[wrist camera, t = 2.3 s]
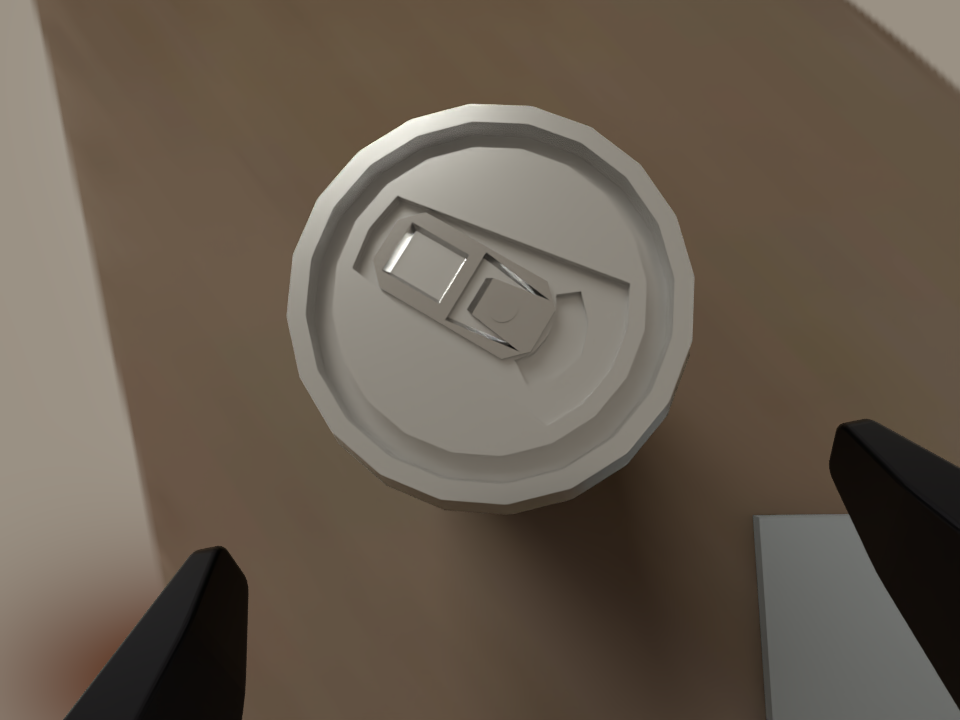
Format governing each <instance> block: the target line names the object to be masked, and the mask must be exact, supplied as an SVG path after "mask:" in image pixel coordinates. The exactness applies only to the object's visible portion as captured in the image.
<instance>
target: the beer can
mask: <svg viewBox="0 0 960 720" xmlns="http://www.w3.org/2000/svg"><path fill="white" fill-rule="evenodd" d="M693 302H694V274H693V270H692V267H691V264H690V260H689V257H688V254H687V250H686V247H685V244H684V240H683V237H682V234H681V230H680V227H679V223H678V220H677V217H676V215H675V213H674V212H673V211H672V209H671V208H670V206H669V205H668V203H667V202H666V201H665V199H664V198H663V196H662V195H661V193H660V192H659V191H658V189H657V188H656V186H655V185H654V183H653V182H652V181H651V179H650V178H649V176H648V175H647V173H646V172H645V171H644V169H643V168H642V166H641V165H640V164H639V163H638V162H636V161H635V160H634V159H632V158H631V157H630V156H628V155H627V154H626V153H624V152H623V151H622V150H620V149H619V148H618V147H616V146H615V145H614V144H613V143H611V142H610V141H609V140H607V139H606V138H605V137H603V136H602V135H601V134H599V133H598V132H597V131H595V130H594V129H593V128H591V127H589V126H586V125H584V124H581V123H578V122H575V121H572V120H570V119H567V118H564V117H561V116H558V115H555V114H553V113H550V112H547V111H544V110H541V109H539V108H536V107H533V106H514V105H489V104H468V105H464V106H460V107H456V108H452V109H449V110H445V111H441V112H437V113H433V114H430V115H426V116H422V117H418V118H414V119H411V120H409V121H407V122H406V123H404V124H403V125H401V126H399V127H398V128H396V129H394V130H393V131H391V132H390V133H388V134H386V135H385V136H383V137H382V138H380V139H378V140H377V141H375V142H373V143H372V144H370V145H369V146H367V147H365V148H364V149H362V150H361V151H359V152H358V153H357V154H356V155H355V156H354V157H353V158H352V160H351V161H350V162H349V163H348V164H347V165H346V167H345V168H344V169H343V170H342V171H341V172H340V173H339V175H338V176H337V177H336V178H335V179H334V180H333V181H332V183H331V184H330V185H329V186H328V187H327V188H326V189H325V191H324V192H323V193H322V194H321V195H320V196H319V197H318V199H317V201H316V203H315V206H314V208H313V210H312V213H311V215H310V217H309V219H308V222H307V224H306V226H305V228H304V231H303V233H302V235H301V238H300V240H299V242H298V244H297V247H296V249H295V251H294V254H293V259H292V269H291V278H290V288H289V298H288V307H287V321H288V325H289V330H290V335H291V339H292V344H293V349H294V353H295V358H296V363H297V367H298V372H299V377H300V379H301V380H302V382H303V384H304V386H305V387H306V389H307V391H308V392H309V394H310V396H311V398H312V399H313V401H314V403H315V404H316V406H317V408H318V409H319V411H320V413H321V415H322V416H323V418H324V420H325V421H326V423H327V425H328V426H329V428H330V430H331V432H332V433H333V434H334V436H335V438H336V440H337V441H338V443H339V444H340V445H341V446H342V447H343V448H344V449H345V450H346V451H348V452H349V453H350V454H351V455H352V456H353V457H354V458H356V459H357V460H358V461H359V462H360V463H361V464H362V465H364V466H365V467H366V468H367V469H368V470H369V471H370V472H372V473H373V474H374V475H375V476H376V477H377V478H378V479H380V480H381V481H382V482H383V483H384V484H385V485H386V486H389V487H391V488H394V489H396V490H398V491H401V492H403V493H406V494H408V495H410V496H413V497H415V498H417V499H420V500H422V501H425V502H427V503H429V504H432V505H434V506H436V507H439V508H441V509H444V510H450V511H463V512H476V513H489V514H501V515H512V514H516V513H520V512H524V511H528V510H532V509H536V508H540V507H544V506H548V505H552V504H556V503H560V502H564V501H568V500H572V499H574V498H575V497H577V496H578V495H580V494H582V493H583V492H585V491H586V490H588V489H590V488H591V487H593V486H594V485H596V484H597V483H599V482H601V481H602V480H604V479H605V478H607V477H608V476H610V475H612V474H613V473H615V472H616V471H618V470H619V469H621V468H623V467H624V466H626V465H627V464H628V463H629V462H630V460H631V459H632V458H633V457H634V455H635V454H636V453H637V452H638V450H639V449H640V448H641V447H642V446H643V444H644V443H645V442H646V441H647V439H648V438H649V437H650V436H651V435H652V433H653V432H654V431H655V430H656V428H657V427H658V426H659V425H660V423H661V422H662V421H663V420H664V419H665V417H666V416H667V415H668V412H669V409H670V407H671V404H672V401H673V399H674V396H675V393H676V391H677V388H678V385H679V383H680V380H681V377H682V375H683V372H684V369H685V367H686V364H687V361H688V359H689V356H690V345H691V343H692V331H693Z"/></svg>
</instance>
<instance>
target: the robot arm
mask: <svg viewBox="0 0 960 720" xmlns="http://www.w3.org/2000/svg"><path fill="white" fill-rule="evenodd" d="M829 469H830V473H831V477H832V479H833V481H834V483H835V486H836V488H837V490H838V492H839V494H840V496H841V499H842V501H843V503H844V505H845V507H846V509H847V511H848V514H849V516H850V518H851V520H852V522H853V524H854V526H855V529H856V531H857V533H858V535H859V537H860V539H861V542H862V544H863V546H864V548H865V550H866V552H867V554H868V557H869V559H870V561H871V563H872V565H873V567H874V569H875V571H876V573H877V574H878V576H879V578H880V580H881V581H882V583H883V585H884V587H885V588H886V590H887V592H888V593H889V595H890V597H891V598H892V600H893V602H894V603H895V605H896V607H897V608H898V610H899V612H900V613H901V615H902V616H903V618H904V620H905V621H906V623H907V625H908V626H909V628H910V630H911V631H912V633H913V635H914V636H915V638H916V640H917V641H918V643H919V644H920V646H921V648H922V649H923V651H924V653H925V654H926V656H927V658H928V659H929V661H930V663H931V664H932V666H933V668H934V669H935V671H936V672H937V674H938V676H939V677H940V679H941V681H942V682H943V684H944V686H945V687H946V689H947V691H948V692H949V694H950V696H951V697H952V699H953V700H954V702H955V704H956V705H957V707H958V709H959V710H960V468H959V467H957V466H956V465H954V464H952V463H950V462H948V461H947V460H945V459H943V458H941V457H939V456H937V455H936V454H934V453H932V452H930V451H928V450H927V449H925V448H923V447H921V446H919V445H917V444H916V443H914V442H912V441H910V440H908V439H907V438H905V437H903V436H901V435H899V434H897V433H896V432H894V431H892V430H890V429H888V428H887V427H885V426H883V425H881V424H879V423H877V422H875V421H873V420H870V419H862V420H856V421H851V422H846V423H843V424H840V425H839V427H838V428H837V430H836V433H835V438H834V442H833V447H832V451H831V456H830V460H829ZM247 625H248V584H247V580H246V577H245V575H244V574H243V572H242V571H241V569H240V568H239V566H238V565H237V563H236V562H235V561H234V559H233V558H232V556H231V555H230V553H229V552H228V551H227V549H226V548H224V547H222V546H215V547H210V548H205V549H200V550H197V551H195V552H193V553H192V554H191V555H190V556H189V557H188V559H187V560H186V561H185V563H184V564H183V565H182V566H181V568H180V569H179V570H178V572H177V573H176V574H175V575H174V577H173V578H172V579H171V581H170V582H169V583H168V585H167V586H166V587H165V588H164V590H163V591H162V592H161V594H160V595H159V596H158V598H157V599H156V600H155V601H154V603H153V604H152V605H151V607H150V608H149V609H148V610H147V612H146V613H145V614H144V616H143V617H142V618H141V620H140V621H139V622H138V624H137V625H136V626H135V627H134V629H133V630H132V631H131V633H130V634H129V635H128V636H127V638H126V639H125V640H124V642H123V643H122V644H121V645H120V647H119V648H118V649H117V651H116V652H115V653H114V654H113V656H112V657H111V659H110V660H109V661H108V662H107V664H106V665H105V666H104V667H103V669H102V670H101V671H100V673H99V674H98V675H97V677H96V678H95V679H94V681H93V682H92V683H91V684H90V686H89V687H88V688H87V689H86V691H85V692H84V693H83V695H82V696H81V697H80V699H79V700H78V701H77V703H76V704H75V705H74V706H73V708H72V709H71V710H70V712H69V713H68V714H67V715H66V717H65V718H64V719H63V720H242V715H243V707H244V698H245V686H246V660H247Z"/></svg>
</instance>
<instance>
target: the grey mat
mask: <svg viewBox="0 0 960 720" xmlns="http://www.w3.org/2000/svg"><path fill="white" fill-rule="evenodd" d="M753 525H754V540H755V555H756V570H757V585H758V600H759V615H760V630H761V645H762V661H763V676H764V691H765V706H766V720H960V710H959V709H958V707H957V705H956V704H955V702H954V700H953V699H952V697H951V696H950V694H949V692H948V691H947V689H946V687H945V686H944V684H943V682H942V681H941V679H940V677H939V676H938V674H937V672H936V671H935V669H934V668H933V666H932V664H931V663H930V661H929V659H928V658H927V656H926V654H925V653H924V651H923V649H922V648H921V646H920V644H919V643H918V641H917V640H916V638H915V636H914V635H913V633H912V631H911V630H910V628H909V626H908V625H907V623H906V621H905V620H904V618H903V616H902V615H901V613H900V612H899V610H898V608H897V607H896V605H895V603H894V602H893V600H892V598H891V597H890V595H889V593H888V592H887V590H886V588H885V587H884V585H883V583H882V581H881V580H880V578H879V576H878V574H877V573H876V571H875V569H874V567H873V565H872V563H871V561H870V559H869V557H868V554H867V552H866V550H865V548H864V546H863V544H862V542H861V539H860V537H859V535H858V533H857V531H856V529H855V526H854V524H853V522H852V520H851V518H850V516H849V514H819V515H753Z"/></svg>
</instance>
